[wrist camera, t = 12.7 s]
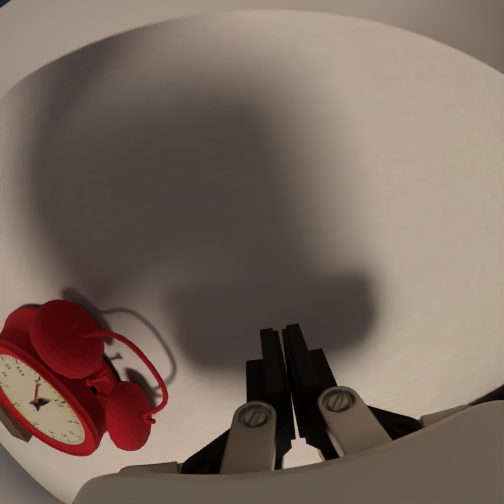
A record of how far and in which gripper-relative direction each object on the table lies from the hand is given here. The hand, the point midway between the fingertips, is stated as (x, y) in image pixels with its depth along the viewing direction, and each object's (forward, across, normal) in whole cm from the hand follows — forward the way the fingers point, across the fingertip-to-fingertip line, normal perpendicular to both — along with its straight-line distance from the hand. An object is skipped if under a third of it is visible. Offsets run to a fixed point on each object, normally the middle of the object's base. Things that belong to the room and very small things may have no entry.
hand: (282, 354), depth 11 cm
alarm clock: (+2, +13, +2) cm, 13 cm away
